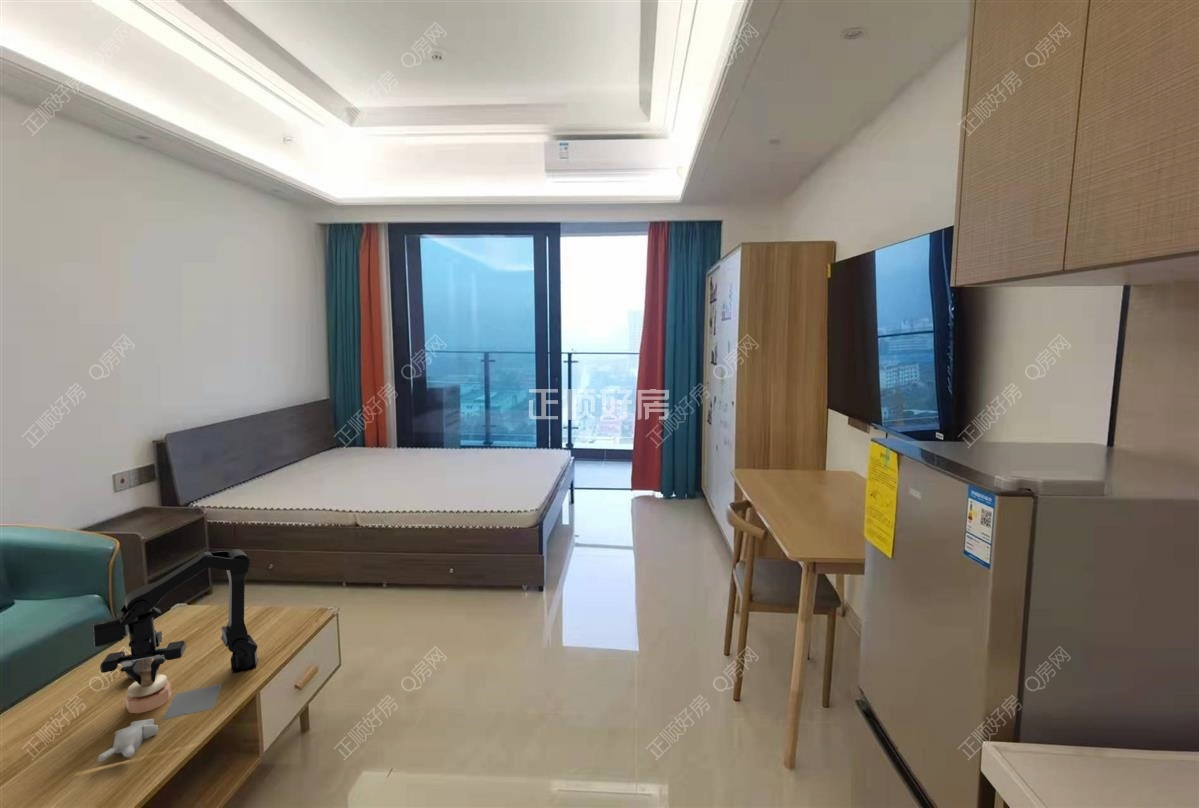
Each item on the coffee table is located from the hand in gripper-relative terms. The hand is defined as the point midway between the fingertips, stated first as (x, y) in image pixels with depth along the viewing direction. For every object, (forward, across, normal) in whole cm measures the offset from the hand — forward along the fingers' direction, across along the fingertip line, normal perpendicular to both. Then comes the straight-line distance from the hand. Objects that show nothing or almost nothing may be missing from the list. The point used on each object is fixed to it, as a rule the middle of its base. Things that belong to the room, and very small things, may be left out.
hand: (147, 682), depth 162 cm
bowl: (+7, 0, 0) cm, 7 cm away
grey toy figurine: (+7, -1, +19) cm, 21 cm away
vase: (+7, +7, -17) cm, 20 cm away
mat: (+7, -12, +5) cm, 14 cm away
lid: (+1, 0, 0) cm, 1 cm away
